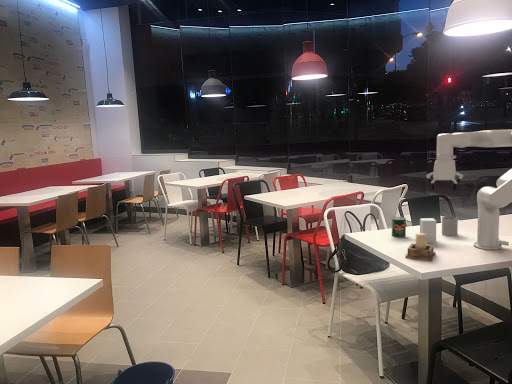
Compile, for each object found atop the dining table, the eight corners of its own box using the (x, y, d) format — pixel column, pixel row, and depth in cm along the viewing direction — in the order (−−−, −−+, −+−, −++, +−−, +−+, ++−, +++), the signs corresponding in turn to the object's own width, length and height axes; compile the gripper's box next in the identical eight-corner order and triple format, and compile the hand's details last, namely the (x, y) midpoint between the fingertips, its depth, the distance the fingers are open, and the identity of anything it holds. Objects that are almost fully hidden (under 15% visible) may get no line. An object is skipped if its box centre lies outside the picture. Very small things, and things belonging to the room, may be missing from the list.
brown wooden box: (435, 253, 198) (435, 245, 198) (431, 260, 188) (431, 251, 188) (410, 251, 205) (410, 242, 204) (405, 257, 195) (405, 248, 194)
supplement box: (436, 243, 217) (436, 220, 215) (422, 243, 218) (422, 220, 217) (433, 239, 224) (433, 217, 222) (419, 239, 226) (419, 218, 224)
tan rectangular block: (426, 252, 197) (427, 233, 196) (425, 255, 193) (425, 236, 191) (416, 251, 200) (416, 232, 198) (414, 254, 195) (414, 235, 194)
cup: (460, 235, 231) (461, 218, 229) (450, 236, 228) (450, 220, 226) (448, 232, 239) (449, 215, 237) (438, 233, 236) (438, 217, 234)
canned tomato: (396, 238, 231) (396, 219, 229) (389, 235, 238) (389, 217, 237) (408, 236, 232) (408, 218, 231) (400, 233, 240) (400, 216, 238)
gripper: (464, 157, 200) (463, 190, 203) (427, 157, 209) (427, 189, 212) (463, 158, 194) (462, 192, 196) (425, 158, 203) (424, 191, 205)
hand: (444, 191), depth 204 cm, fingers open, 9 cm apart
